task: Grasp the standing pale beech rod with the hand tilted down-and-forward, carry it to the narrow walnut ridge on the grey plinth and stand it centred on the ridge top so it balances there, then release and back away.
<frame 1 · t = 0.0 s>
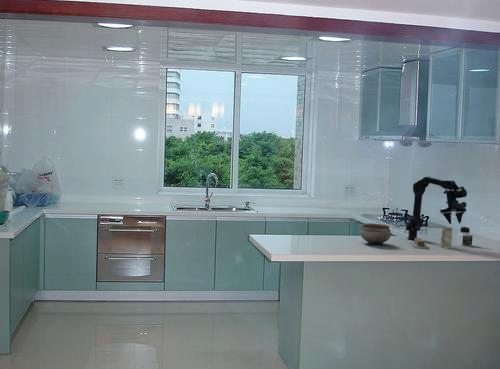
hand: (455, 223, 385), 15 cm above the countertop, tool pointing down, fingers open, 9 cm apart
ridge: (418, 246, 386), on the countertop
medicine bottle: (464, 245, 399), on the countertop
cooking pot: (375, 244, 386), on the countertop
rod: (445, 247, 384), on the countertop
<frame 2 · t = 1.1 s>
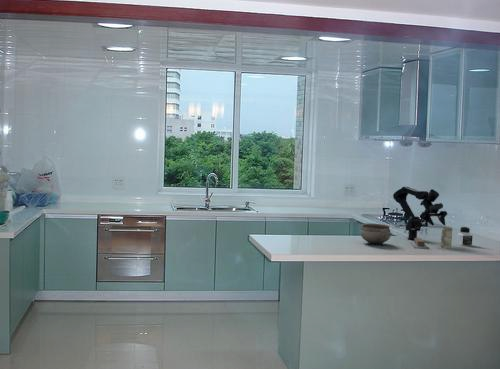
hand: (439, 225, 391), 13 cm above the countertop, tool tilted 45°, fingers open, 9 cm apart
nothing on the countertop moved.
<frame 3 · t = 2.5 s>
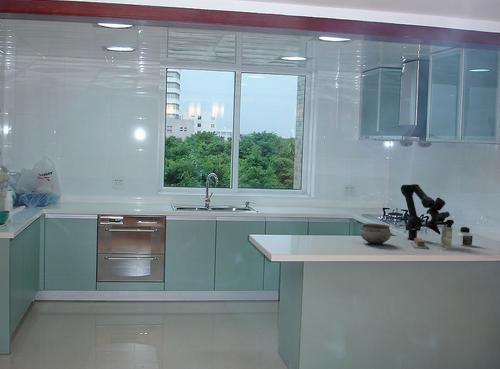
hand: (445, 234, 385), 9 cm above the countertop, tool tilted 45°, fingers open, 9 cm apart
nothing on the countertop moved.
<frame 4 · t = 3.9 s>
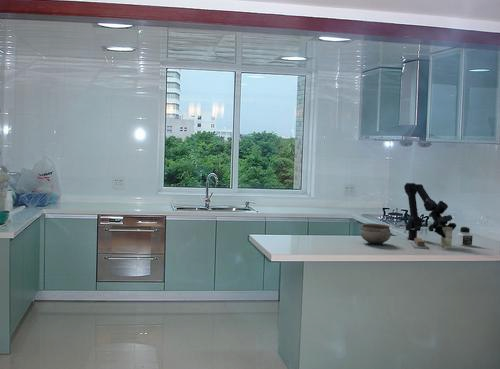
hand: (448, 237, 383), 7 cm above the countertop, tool tilted 45°, fingers closed on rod, 4 cm apart
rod: (445, 247, 384), on the countertop, touching gripper
everything else where it was.
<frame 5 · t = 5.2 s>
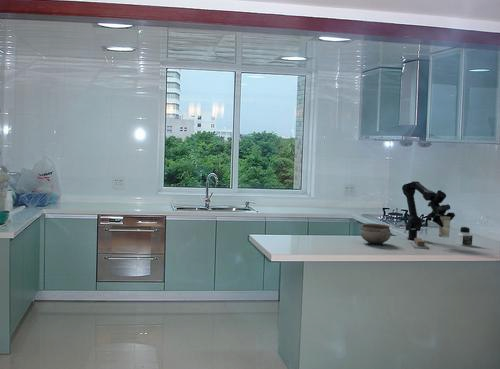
hand: (445, 226, 382), 13 cm above the countertop, tool tilted 45°, fingers closed on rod, 4 cm apart
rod: (443, 236, 384), point 7 cm above the countertop, touching gripper
everything else where it was.
when the fingers open (11 cm above the countertop, at t = 6.8 s): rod stays where it is, resting on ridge.
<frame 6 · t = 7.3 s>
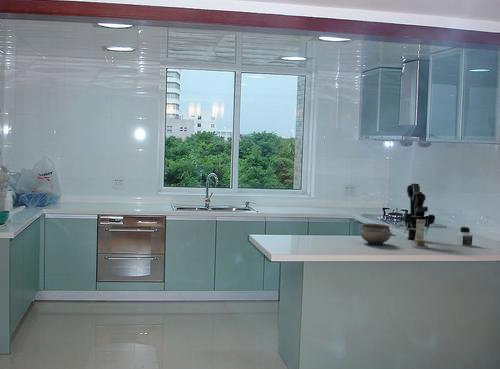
hand: (420, 228, 383), 12 cm above the countertop, tool tilted 45°, fingers open, 9 cm apart
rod: (419, 239, 385), point 4 cm above the countertop, touching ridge
everything else where it was.
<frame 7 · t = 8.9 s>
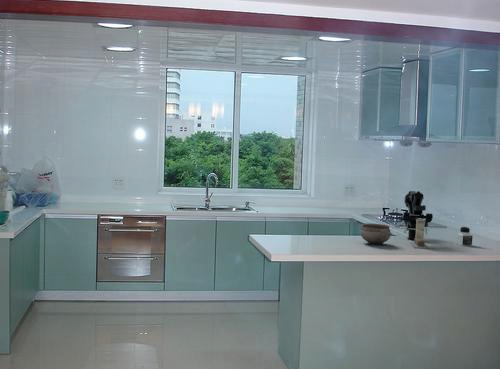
hand: (418, 226, 392), 11 cm above the countertop, tool tilted 45°, fingers open, 9 cm apart
nothing on the countertop moved.
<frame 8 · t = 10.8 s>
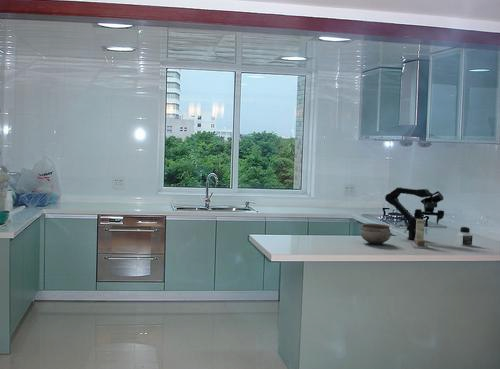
hand: (430, 223, 395), 14 cm above the countertop, tool tilted 45°, fingers open, 9 cm apart
nothing on the countertop moved.
at the end: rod inside the target area on the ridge (0.0 cm from its centre), point 4.0 cm above the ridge's base; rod tilted 0°; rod touching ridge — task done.
